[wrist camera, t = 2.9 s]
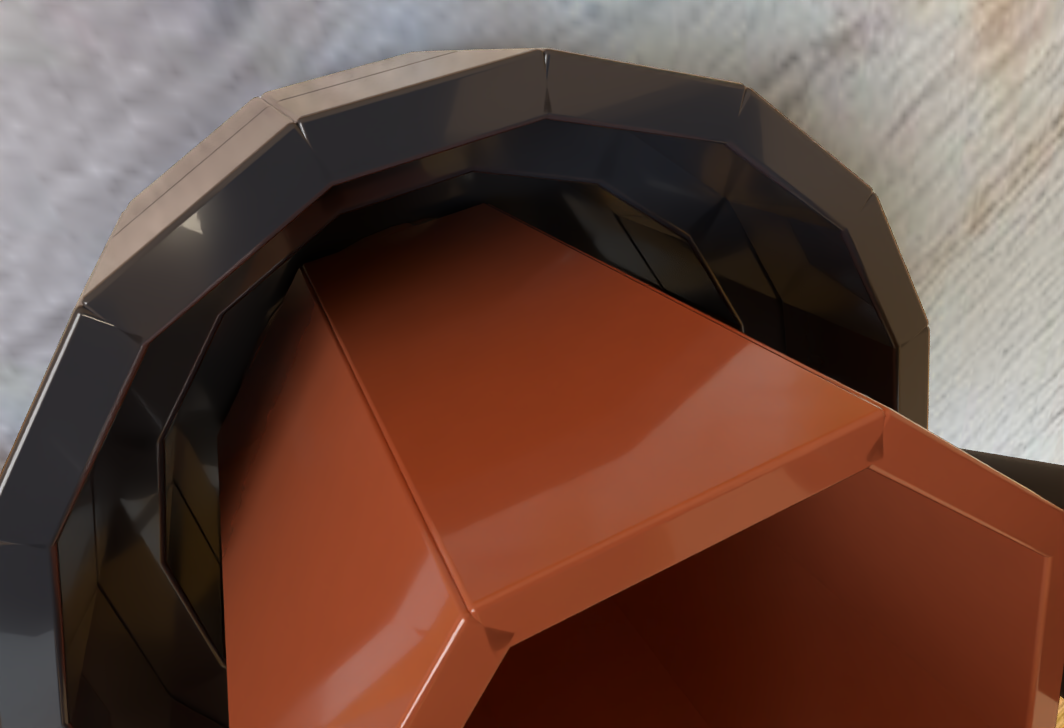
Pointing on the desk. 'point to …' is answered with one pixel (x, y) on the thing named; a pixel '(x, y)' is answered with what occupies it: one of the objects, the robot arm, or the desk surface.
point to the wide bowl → (334, 224)
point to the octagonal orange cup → (601, 515)
